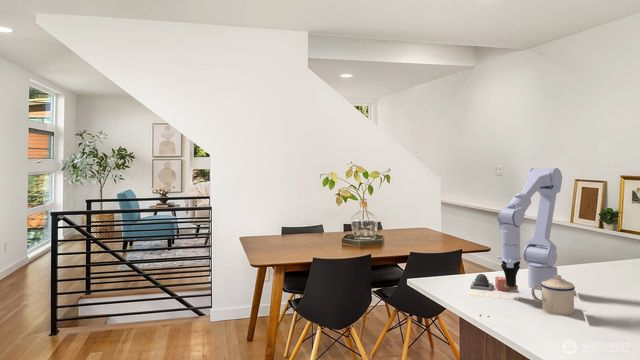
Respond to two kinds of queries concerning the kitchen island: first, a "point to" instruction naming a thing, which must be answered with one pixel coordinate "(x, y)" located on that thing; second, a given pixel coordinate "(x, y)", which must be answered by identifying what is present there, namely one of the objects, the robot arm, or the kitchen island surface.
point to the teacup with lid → (556, 296)
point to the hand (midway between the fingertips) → (510, 284)
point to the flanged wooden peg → (511, 286)
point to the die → (500, 283)
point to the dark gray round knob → (481, 281)
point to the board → (489, 293)
